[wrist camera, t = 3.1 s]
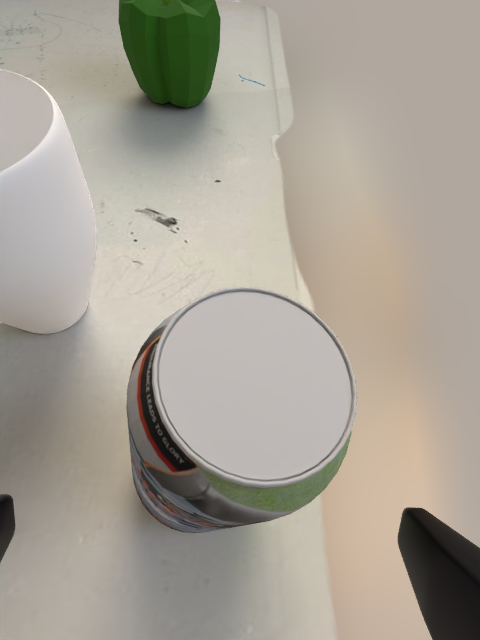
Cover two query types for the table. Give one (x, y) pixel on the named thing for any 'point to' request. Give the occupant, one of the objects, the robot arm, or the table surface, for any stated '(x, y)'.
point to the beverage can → (238, 411)
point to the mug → (41, 213)
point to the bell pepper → (171, 47)
